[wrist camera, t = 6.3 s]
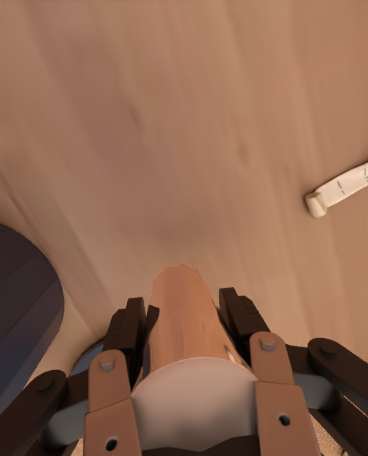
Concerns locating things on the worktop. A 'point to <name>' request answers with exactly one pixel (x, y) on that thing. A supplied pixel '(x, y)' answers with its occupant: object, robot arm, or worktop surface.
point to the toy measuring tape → (337, 190)
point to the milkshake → (189, 369)
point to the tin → (25, 311)
